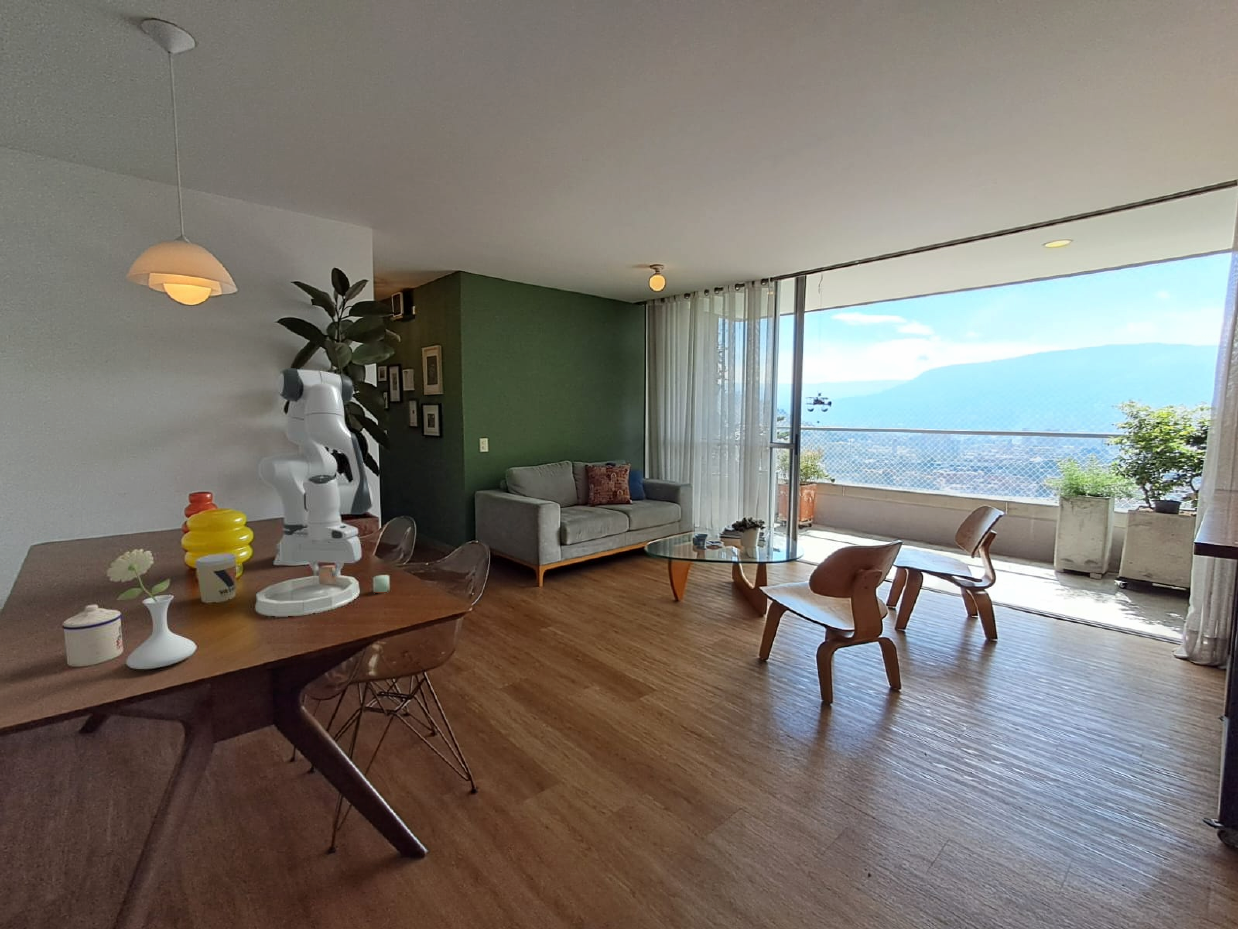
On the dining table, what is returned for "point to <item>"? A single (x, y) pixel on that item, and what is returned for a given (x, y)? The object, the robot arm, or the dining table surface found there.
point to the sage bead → (381, 583)
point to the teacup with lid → (93, 636)
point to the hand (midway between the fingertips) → (327, 576)
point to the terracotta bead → (326, 574)
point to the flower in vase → (162, 642)
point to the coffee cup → (217, 577)
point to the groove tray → (305, 607)
